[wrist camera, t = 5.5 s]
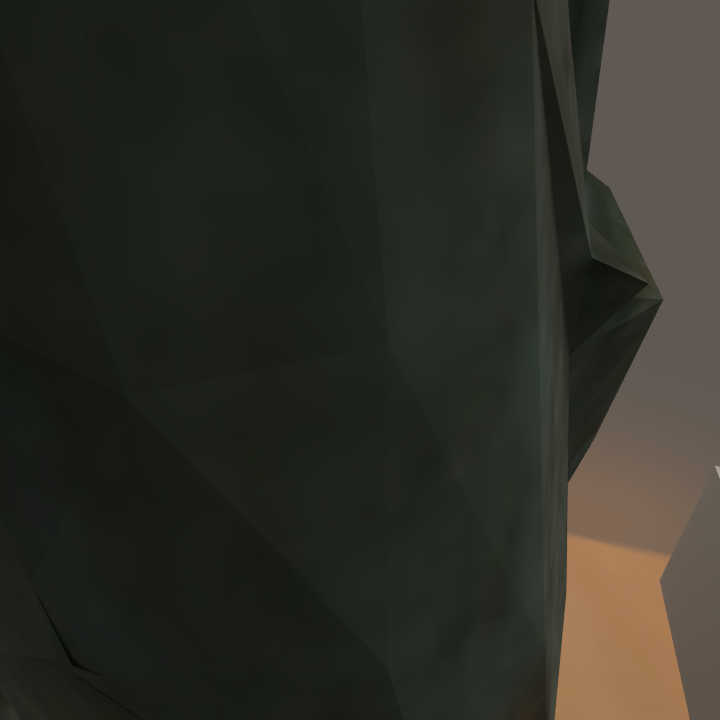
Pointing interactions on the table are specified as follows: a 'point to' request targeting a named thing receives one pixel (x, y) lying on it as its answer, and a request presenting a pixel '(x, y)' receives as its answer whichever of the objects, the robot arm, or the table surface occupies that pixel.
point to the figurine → (299, 353)
